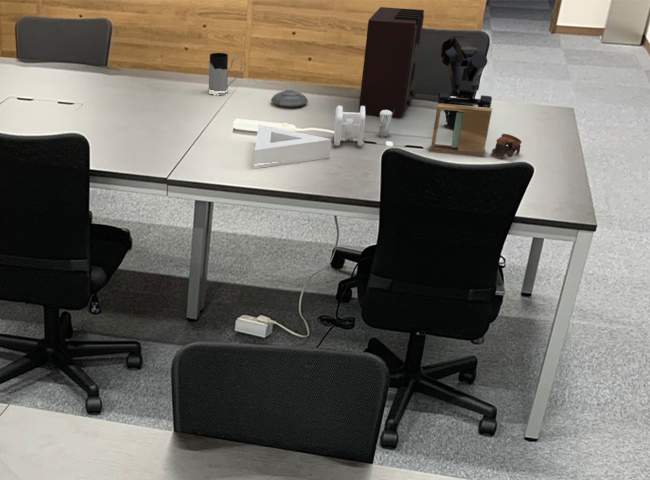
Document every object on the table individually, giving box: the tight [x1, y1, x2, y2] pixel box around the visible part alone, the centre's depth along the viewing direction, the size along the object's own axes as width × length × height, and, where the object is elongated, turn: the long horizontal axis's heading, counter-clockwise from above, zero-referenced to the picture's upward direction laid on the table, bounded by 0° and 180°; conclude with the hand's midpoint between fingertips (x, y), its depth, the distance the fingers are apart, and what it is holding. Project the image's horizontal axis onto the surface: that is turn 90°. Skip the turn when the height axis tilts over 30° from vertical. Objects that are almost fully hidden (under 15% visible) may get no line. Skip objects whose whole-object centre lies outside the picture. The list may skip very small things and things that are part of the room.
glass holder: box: [208, 52, 243, 96], centre depth 406 cm, size 9×14×15 cm, turn 96°
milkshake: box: [378, 110, 394, 138], centre depth 360 cm, size 4×5×10 cm
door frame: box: [429, 103, 493, 158], centre depth 344 cm, size 5×19×16 cm, turn 71°
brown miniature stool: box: [490, 133, 522, 160], centre depth 343 cm, size 12×10×8 cm
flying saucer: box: [270, 89, 309, 108], centre depth 395 cm, size 15×15×6 cm
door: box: [450, 111, 464, 148], centre depth 345 cm, size 7×9×12 cm
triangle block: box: [253, 124, 332, 170], centre depth 346 cm, size 30×26×6 cm
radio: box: [357, 6, 425, 119], centre depth 382 cm, size 19×27×35 cm
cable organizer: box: [333, 105, 366, 148], centre depth 353 cm, size 15×11×12 cm
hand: (459, 122), depth 352 cm, fingers open, 9 cm apart
